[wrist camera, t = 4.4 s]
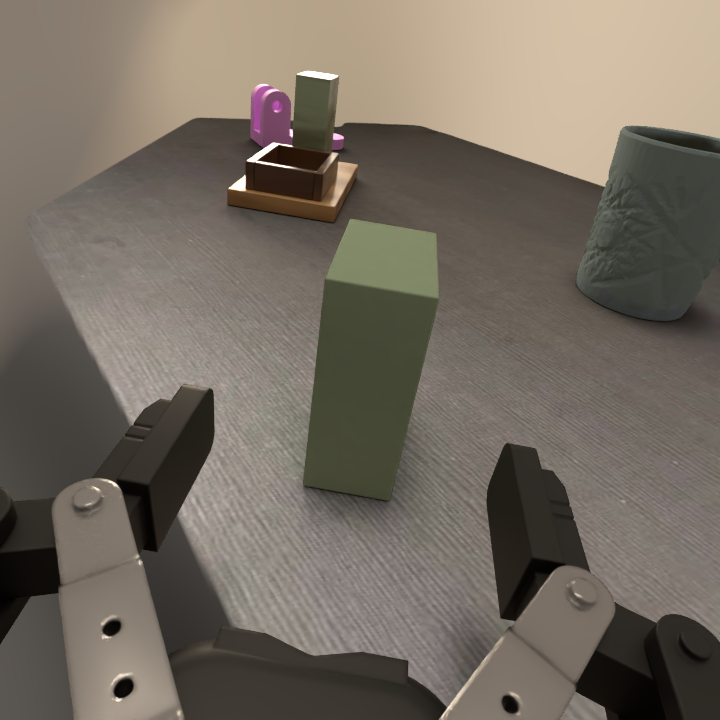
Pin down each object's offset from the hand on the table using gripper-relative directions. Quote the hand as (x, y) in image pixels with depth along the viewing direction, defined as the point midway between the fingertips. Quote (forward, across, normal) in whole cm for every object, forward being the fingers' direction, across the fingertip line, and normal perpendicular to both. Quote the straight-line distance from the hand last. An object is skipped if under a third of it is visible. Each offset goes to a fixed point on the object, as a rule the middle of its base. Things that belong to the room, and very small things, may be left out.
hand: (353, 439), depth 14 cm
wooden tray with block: (+44, +11, +6) cm, 46 cm away
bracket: (+67, +15, +6) cm, 69 cm away
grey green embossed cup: (+30, -20, +6) cm, 36 cm away
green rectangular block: (+6, 0, +6) cm, 9 cm away
